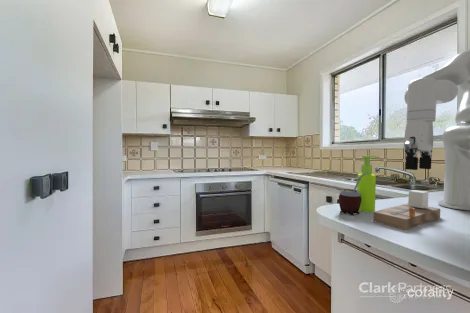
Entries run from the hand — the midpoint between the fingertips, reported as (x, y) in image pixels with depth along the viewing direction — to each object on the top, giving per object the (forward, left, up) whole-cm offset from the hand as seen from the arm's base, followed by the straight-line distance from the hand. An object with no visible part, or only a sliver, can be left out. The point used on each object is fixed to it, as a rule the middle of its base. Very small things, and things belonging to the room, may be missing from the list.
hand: (418, 169), depth 79 cm
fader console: (+7, 0, -16) cm, 17 cm away
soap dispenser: (+7, -13, -16) cm, 22 cm away
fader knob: (0, 0, -12) cm, 12 cm away
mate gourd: (+16, -13, -16) cm, 26 cm away
